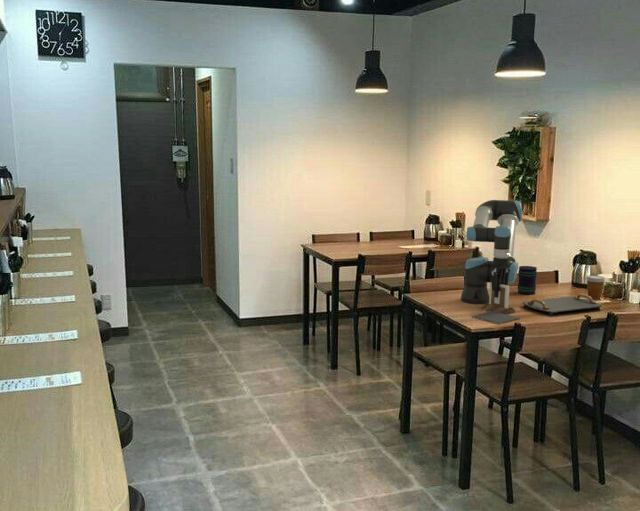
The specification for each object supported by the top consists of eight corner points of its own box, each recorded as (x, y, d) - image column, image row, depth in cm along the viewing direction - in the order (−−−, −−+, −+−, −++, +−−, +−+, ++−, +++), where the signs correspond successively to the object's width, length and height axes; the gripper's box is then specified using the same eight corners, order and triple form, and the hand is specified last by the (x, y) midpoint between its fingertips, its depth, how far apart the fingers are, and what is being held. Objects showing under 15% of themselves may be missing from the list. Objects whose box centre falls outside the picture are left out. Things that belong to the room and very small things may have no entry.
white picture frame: (489, 306, 320) (490, 283, 318) (491, 305, 321) (492, 282, 319) (505, 310, 312) (506, 286, 310) (508, 309, 313) (509, 286, 312)
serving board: (573, 300, 340) (574, 289, 339) (607, 310, 319) (608, 298, 318) (516, 307, 326) (517, 295, 325) (548, 318, 305) (549, 305, 304)
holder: (482, 309, 320) (482, 304, 320) (492, 306, 325) (492, 301, 324) (505, 314, 309) (505, 309, 309) (515, 312, 314) (515, 307, 314)
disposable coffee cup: (586, 299, 341) (587, 278, 339) (583, 295, 350) (585, 274, 348) (605, 300, 339) (606, 279, 337) (601, 296, 348) (603, 275, 346)
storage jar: (534, 291, 360) (536, 266, 358) (536, 295, 351) (537, 269, 348) (516, 290, 362) (518, 265, 360) (517, 294, 353) (519, 268, 351)
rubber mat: (471, 317, 304) (471, 316, 304) (492, 312, 314) (492, 311, 314) (499, 324, 292) (499, 323, 292) (519, 318, 302) (519, 317, 301)
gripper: (498, 259, 305) (495, 306, 309) (516, 256, 314) (514, 302, 318) (485, 257, 311) (483, 303, 315) (504, 254, 320) (501, 299, 324)
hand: (498, 303), depth 316 cm, fingers closed on white picture frame, 2 cm apart
